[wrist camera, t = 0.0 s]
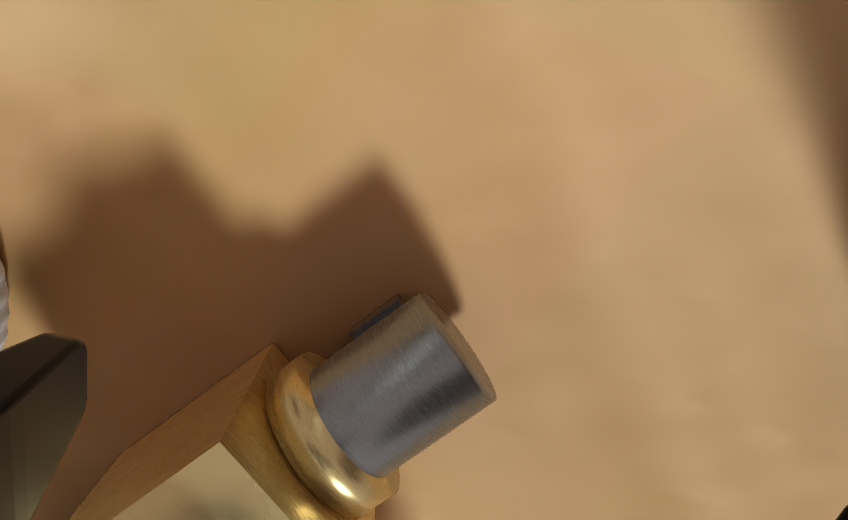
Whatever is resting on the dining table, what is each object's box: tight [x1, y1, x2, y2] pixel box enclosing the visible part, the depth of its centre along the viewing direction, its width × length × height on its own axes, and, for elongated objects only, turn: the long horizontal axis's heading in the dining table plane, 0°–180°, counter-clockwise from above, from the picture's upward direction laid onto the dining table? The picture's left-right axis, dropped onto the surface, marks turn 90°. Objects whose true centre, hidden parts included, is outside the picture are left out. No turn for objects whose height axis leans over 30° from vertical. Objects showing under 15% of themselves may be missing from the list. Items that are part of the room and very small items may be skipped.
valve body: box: [69, 292, 497, 520], centre depth 22 cm, size 18×6×7 cm, turn 126°
